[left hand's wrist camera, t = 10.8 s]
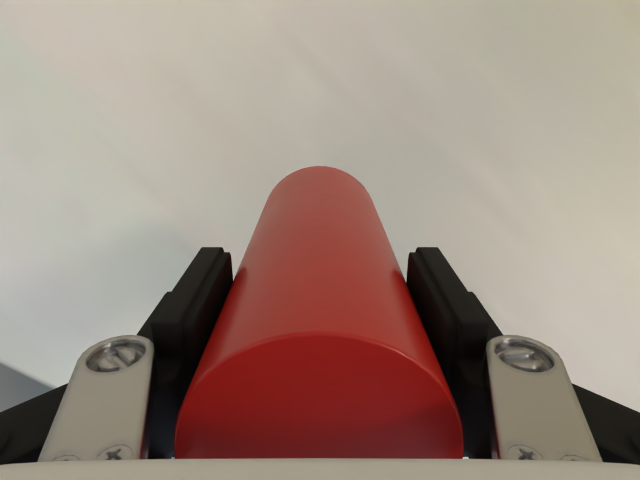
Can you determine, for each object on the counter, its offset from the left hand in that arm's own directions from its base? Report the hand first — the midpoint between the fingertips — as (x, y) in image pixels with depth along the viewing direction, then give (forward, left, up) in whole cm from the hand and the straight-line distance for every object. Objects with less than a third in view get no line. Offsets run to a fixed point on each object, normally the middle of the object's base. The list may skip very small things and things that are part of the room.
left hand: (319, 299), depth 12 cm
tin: (0, 0, -7) cm, 7 cm away
